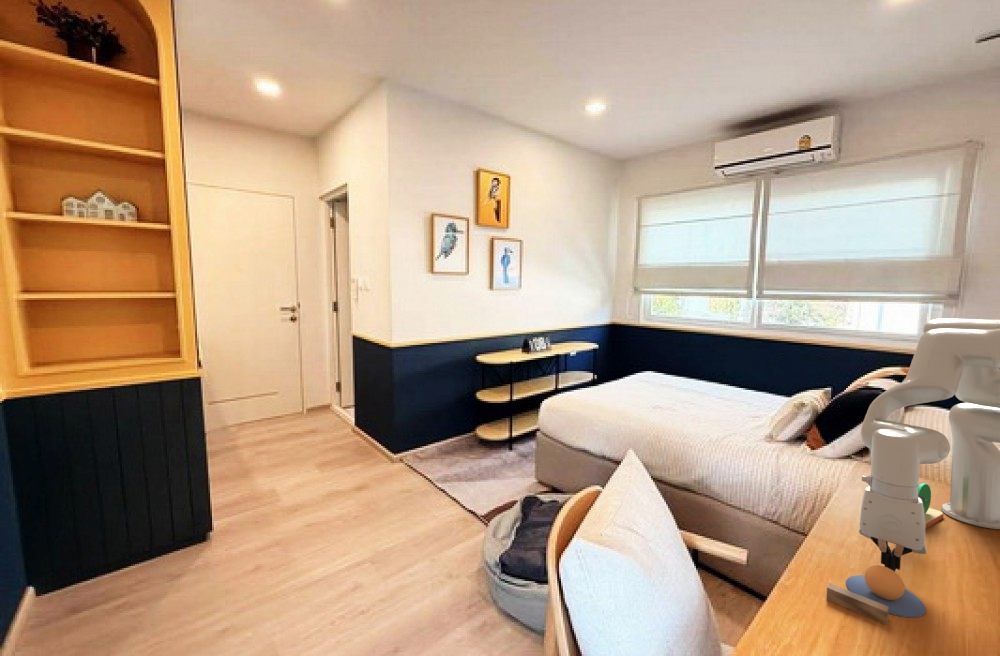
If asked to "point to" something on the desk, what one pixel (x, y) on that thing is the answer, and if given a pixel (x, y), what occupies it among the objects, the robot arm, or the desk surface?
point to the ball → (884, 582)
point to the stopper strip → (858, 603)
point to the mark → (901, 607)
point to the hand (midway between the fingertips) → (890, 569)
